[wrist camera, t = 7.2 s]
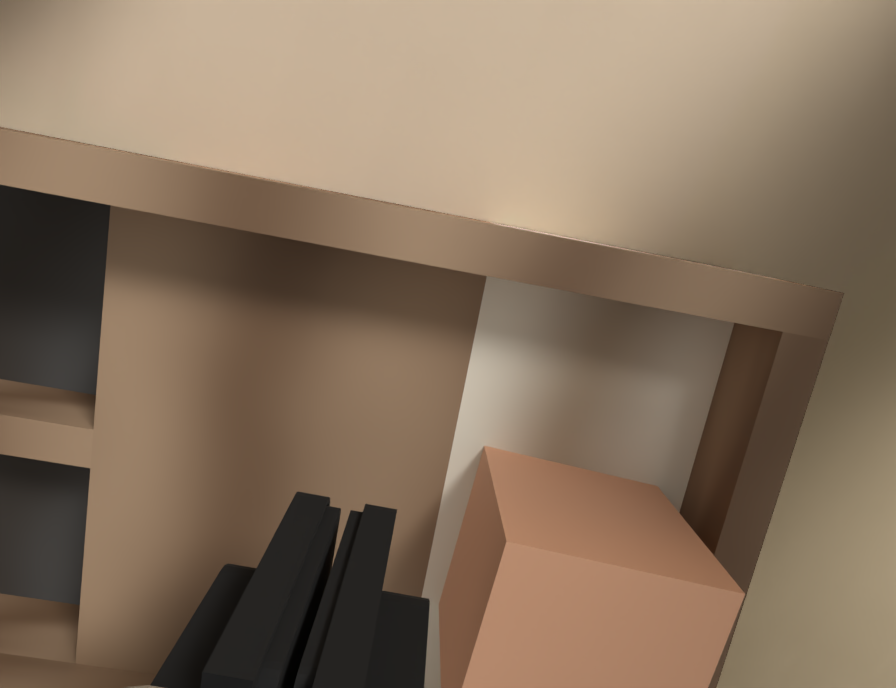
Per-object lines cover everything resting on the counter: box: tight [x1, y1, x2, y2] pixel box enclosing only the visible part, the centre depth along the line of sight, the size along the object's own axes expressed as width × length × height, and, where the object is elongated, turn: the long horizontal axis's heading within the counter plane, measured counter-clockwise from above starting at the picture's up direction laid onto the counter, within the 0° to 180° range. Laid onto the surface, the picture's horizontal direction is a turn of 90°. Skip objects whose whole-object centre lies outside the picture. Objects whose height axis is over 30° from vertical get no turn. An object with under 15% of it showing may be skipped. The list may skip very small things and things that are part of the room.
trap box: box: [0, 127, 844, 688], centre depth 16 cm, size 23×14×4 cm, turn 79°
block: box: [439, 446, 745, 688], centre depth 14 cm, size 4×4×4 cm
